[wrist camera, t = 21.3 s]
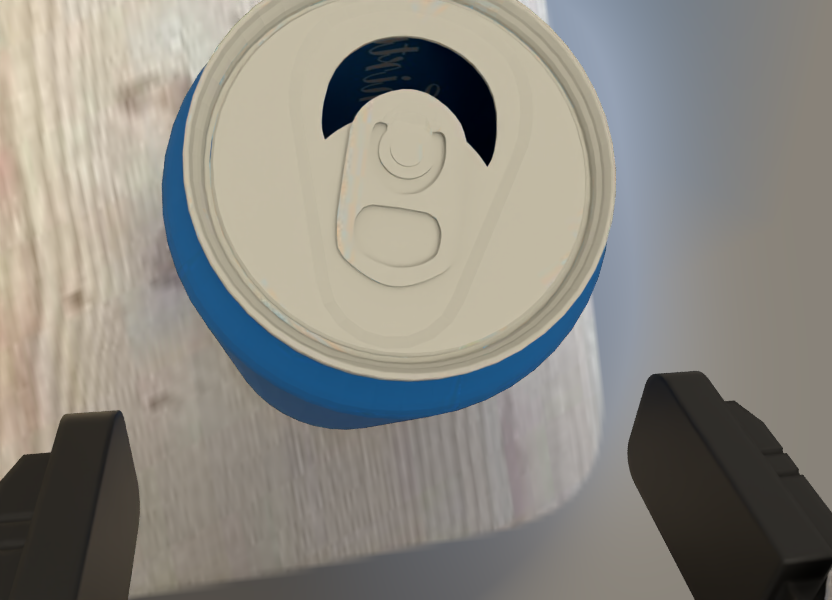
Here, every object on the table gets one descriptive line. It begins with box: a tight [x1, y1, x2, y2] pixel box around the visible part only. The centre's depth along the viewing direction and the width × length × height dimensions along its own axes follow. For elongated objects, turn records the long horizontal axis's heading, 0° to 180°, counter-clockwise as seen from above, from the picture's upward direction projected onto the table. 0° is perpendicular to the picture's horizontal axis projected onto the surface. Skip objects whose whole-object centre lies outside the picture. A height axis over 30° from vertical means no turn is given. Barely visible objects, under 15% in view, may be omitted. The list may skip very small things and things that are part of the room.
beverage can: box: [162, 0, 616, 430], centre depth 16 cm, size 6×6×12 cm
